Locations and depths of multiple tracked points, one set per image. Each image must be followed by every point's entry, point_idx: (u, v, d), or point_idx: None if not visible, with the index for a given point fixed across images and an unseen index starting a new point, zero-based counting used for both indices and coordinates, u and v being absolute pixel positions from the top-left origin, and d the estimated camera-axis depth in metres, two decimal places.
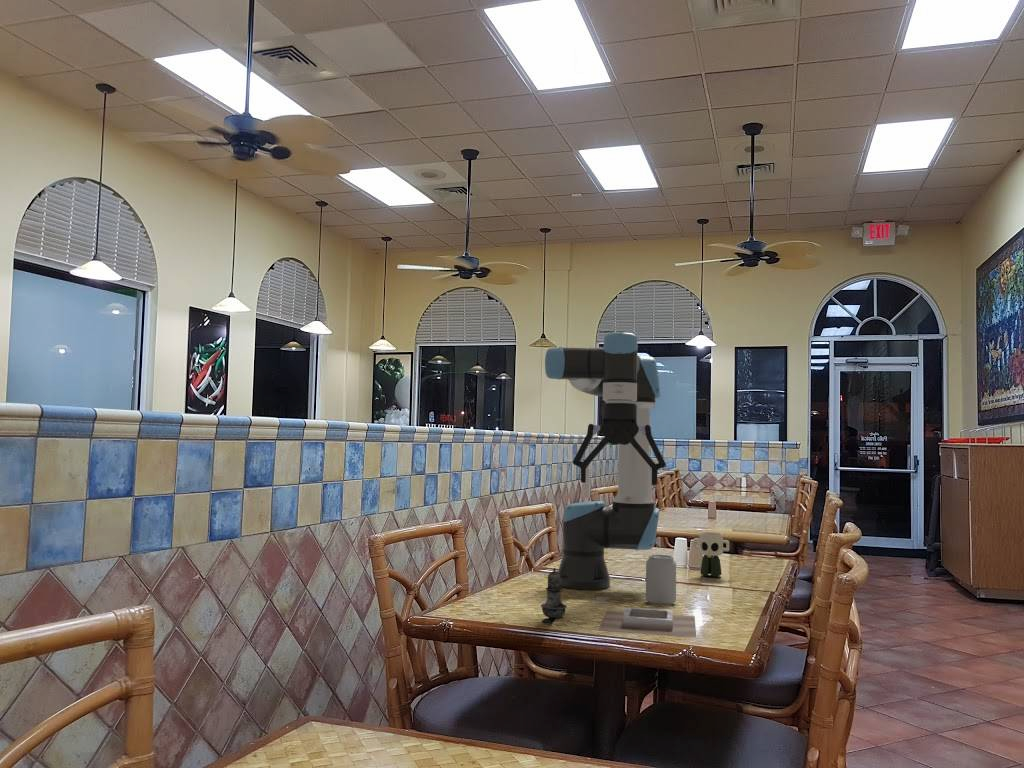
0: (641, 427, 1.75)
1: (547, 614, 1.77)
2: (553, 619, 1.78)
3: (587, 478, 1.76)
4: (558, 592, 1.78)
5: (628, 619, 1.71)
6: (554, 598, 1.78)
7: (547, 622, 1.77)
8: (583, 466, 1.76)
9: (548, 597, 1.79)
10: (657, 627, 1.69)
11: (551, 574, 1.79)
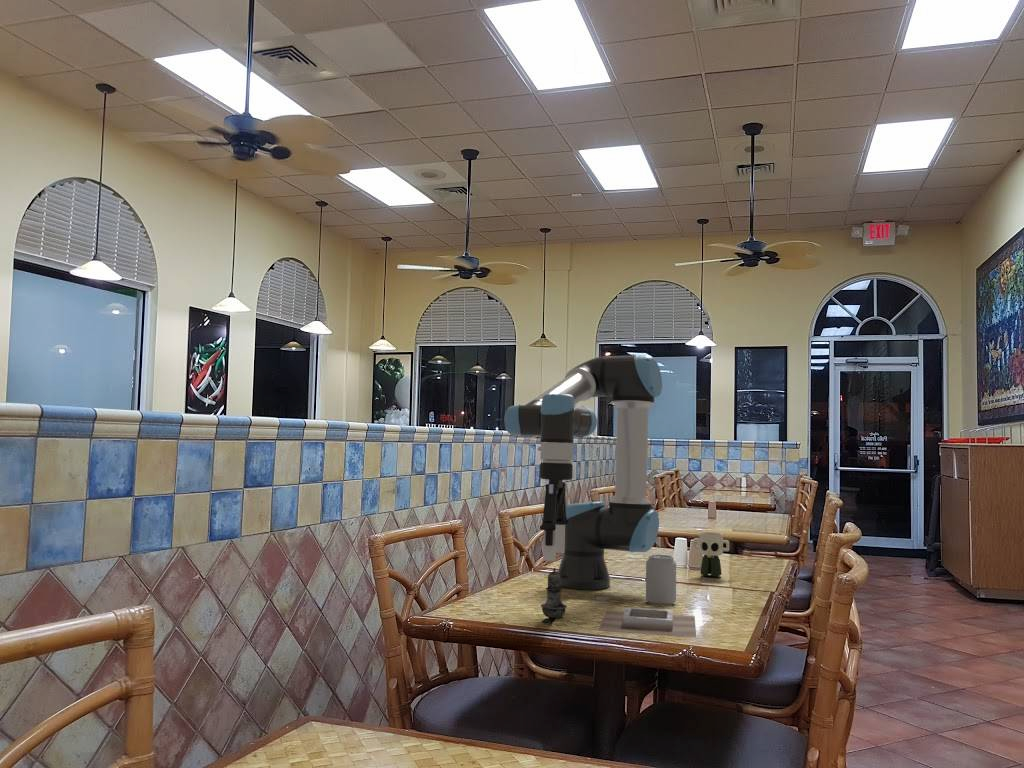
0: None
1: (547, 614, 1.77)
2: (553, 619, 1.78)
3: None
4: (558, 592, 1.78)
5: (628, 619, 1.71)
6: (554, 598, 1.78)
7: (547, 622, 1.77)
8: None
9: (548, 597, 1.79)
10: (657, 627, 1.69)
11: (551, 574, 1.79)
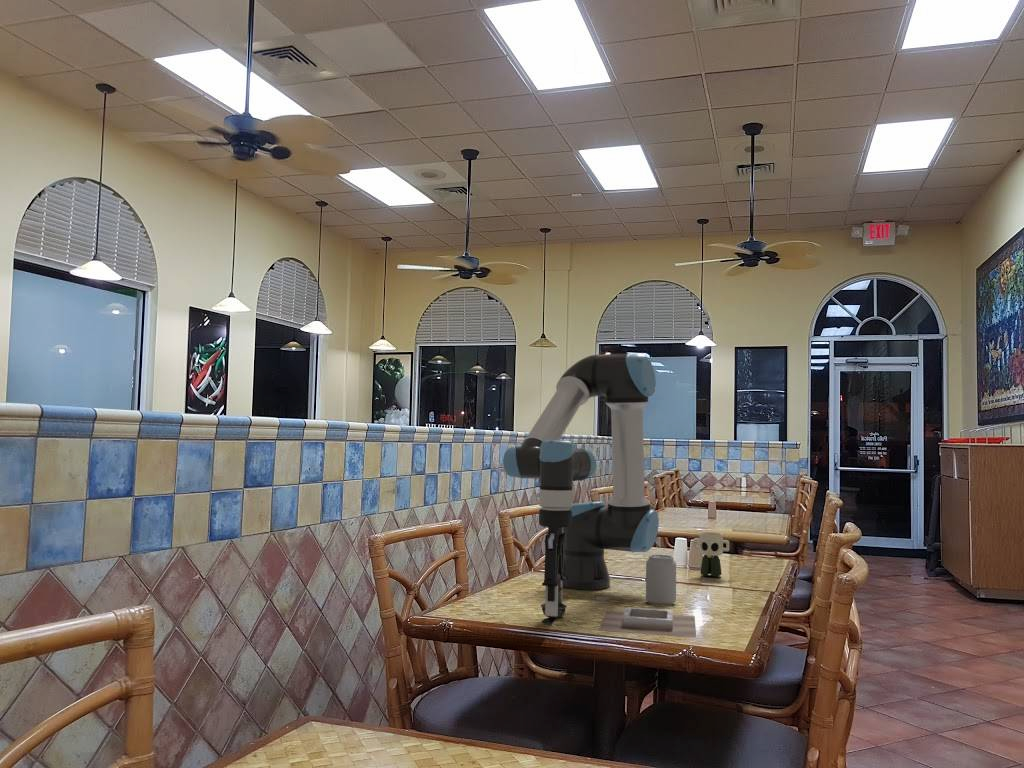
0: None
1: None
2: (553, 619, 1.78)
3: None
4: (558, 592, 1.78)
5: (628, 619, 1.71)
6: None
7: (547, 622, 1.77)
8: None
9: None
10: (657, 627, 1.69)
11: None
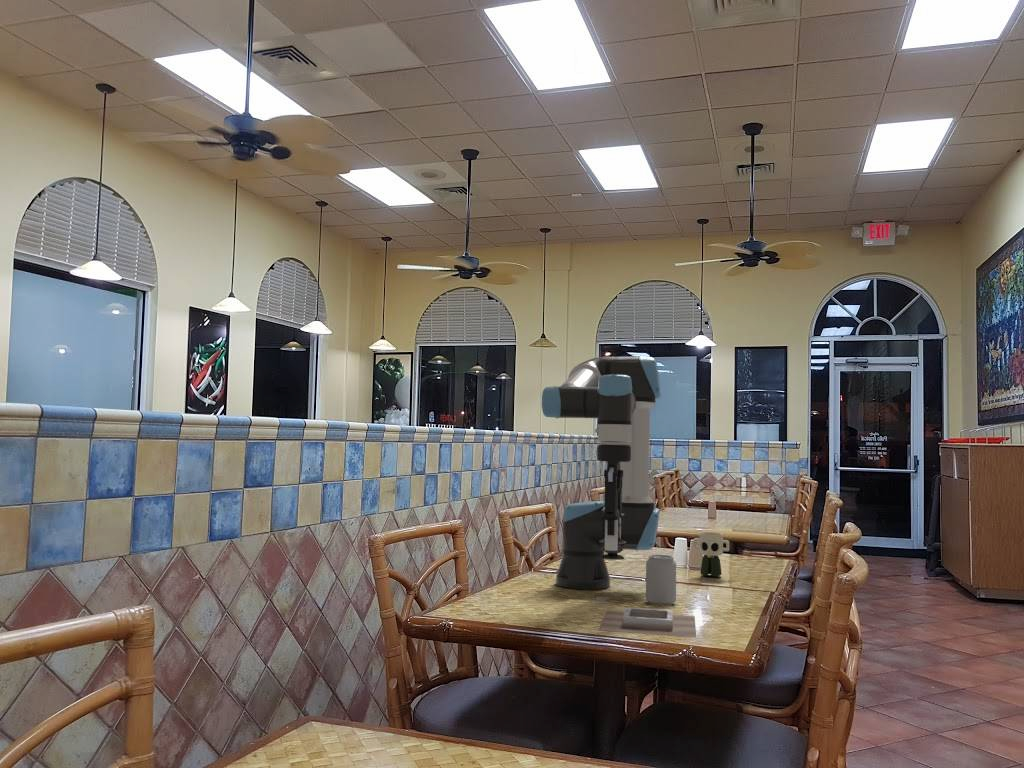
0: (609, 472, 1.74)
1: None
2: (612, 554, 1.76)
3: None
4: None
5: (628, 619, 1.71)
6: None
7: (606, 557, 1.75)
8: None
9: None
10: (657, 627, 1.69)
11: None
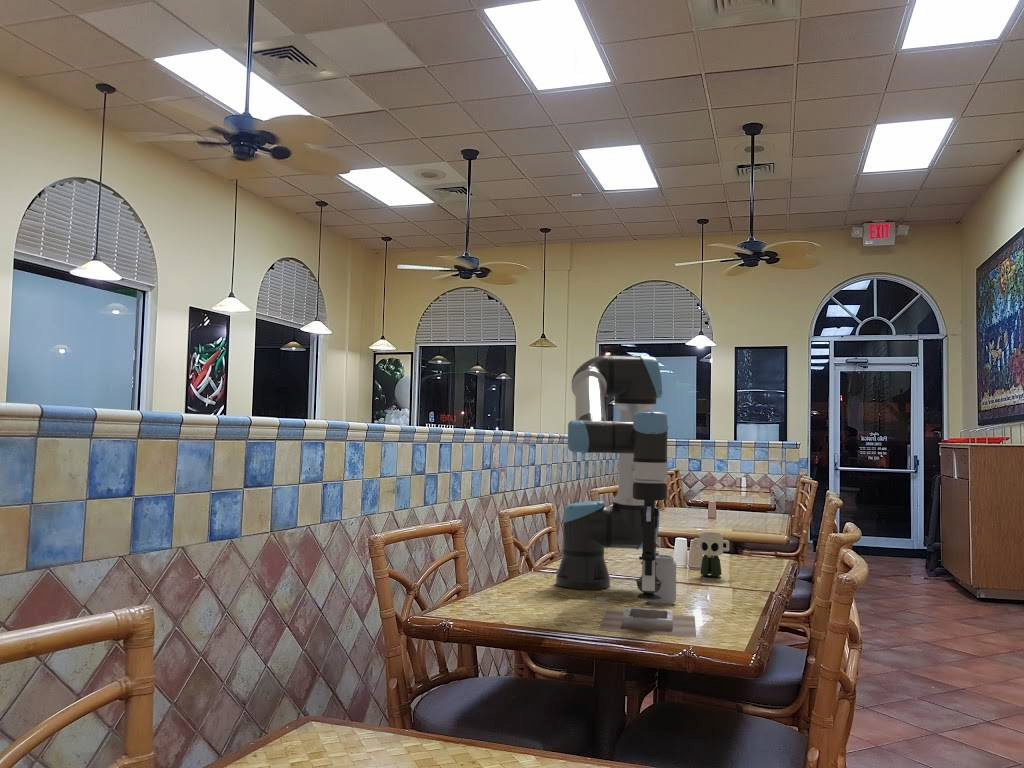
0: (646, 511, 1.72)
1: None
2: (649, 594, 1.74)
3: None
4: None
5: (628, 619, 1.71)
6: None
7: (643, 597, 1.73)
8: None
9: None
10: (657, 627, 1.69)
11: None
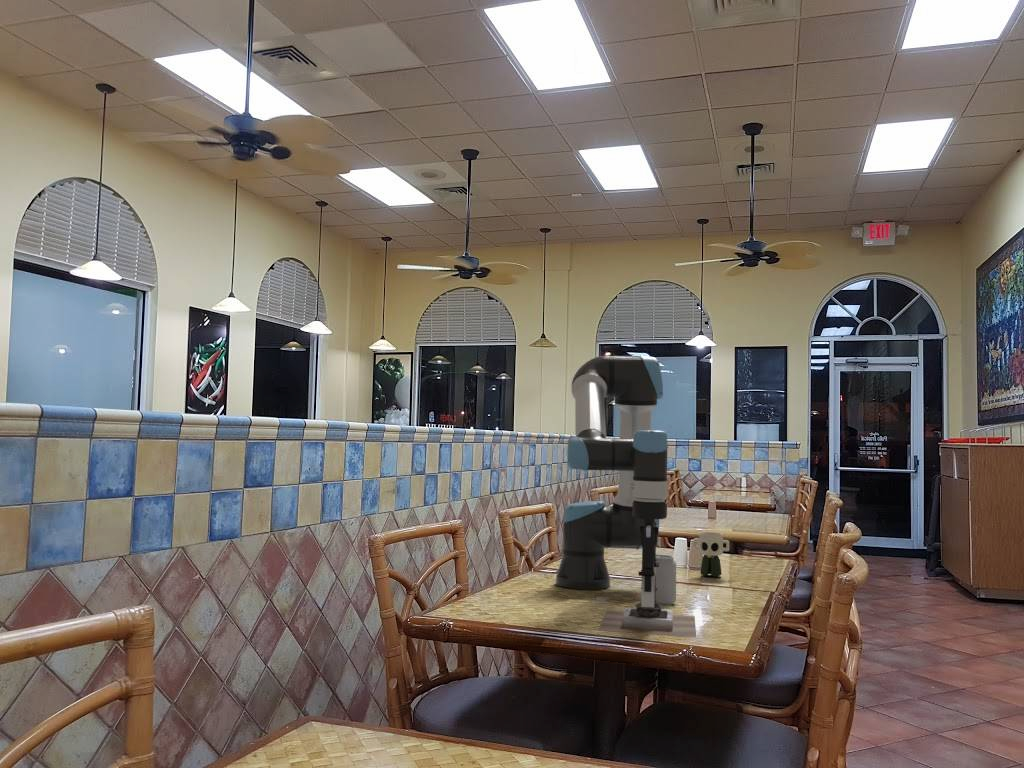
0: None
1: (643, 614, 1.73)
2: None
3: None
4: (654, 592, 1.74)
5: (628, 619, 1.71)
6: None
7: None
8: None
9: None
10: (657, 627, 1.69)
11: None
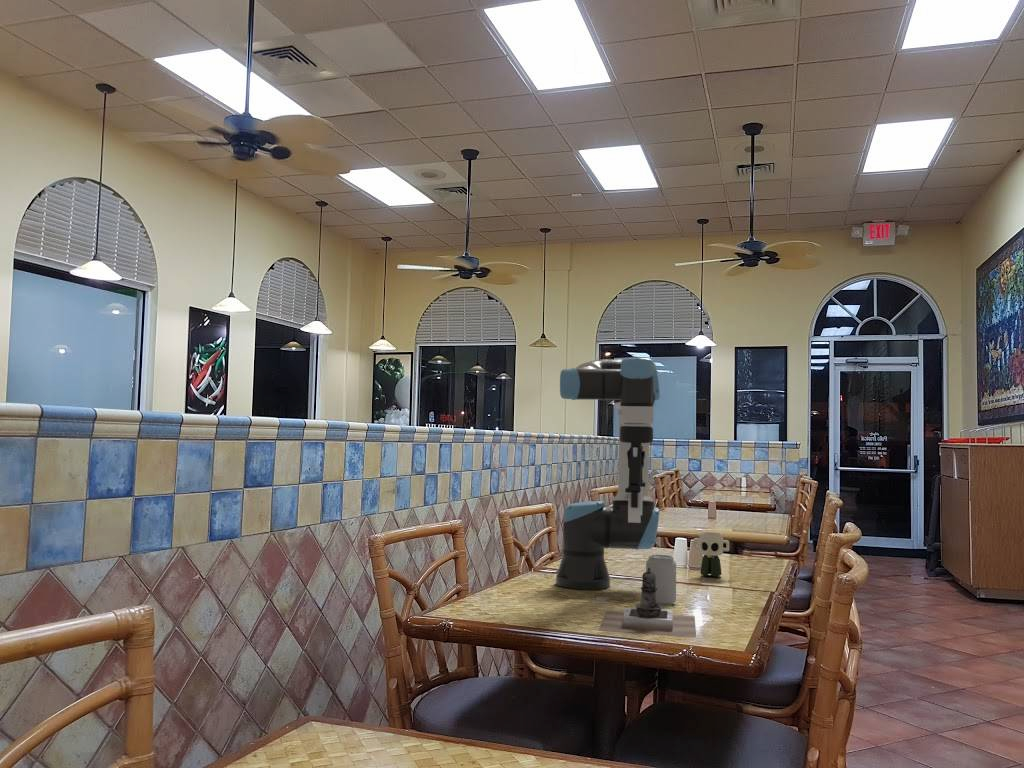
0: None
1: (643, 615, 1.73)
2: None
3: None
4: (653, 592, 1.74)
5: (628, 619, 1.71)
6: (650, 598, 1.74)
7: None
8: None
9: (643, 597, 1.74)
10: (657, 627, 1.69)
11: (646, 574, 1.75)
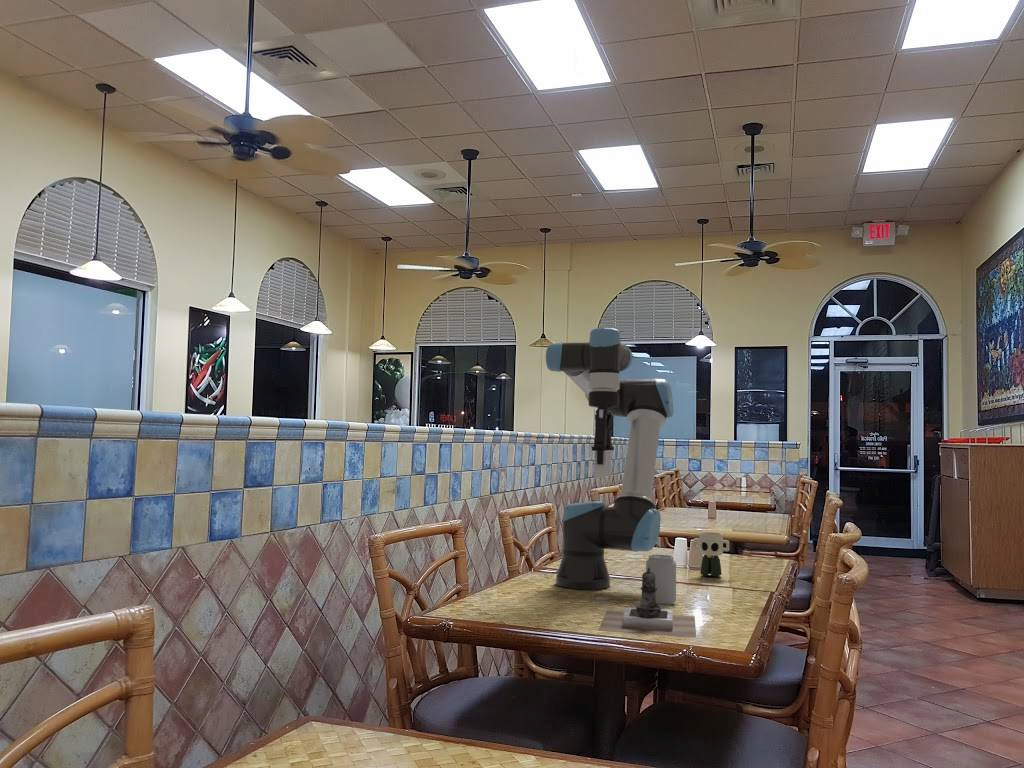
0: None
1: (643, 615, 1.73)
2: None
3: None
4: (653, 592, 1.74)
5: (628, 619, 1.71)
6: (650, 598, 1.74)
7: None
8: None
9: (643, 597, 1.74)
10: (657, 627, 1.69)
11: (646, 574, 1.74)
